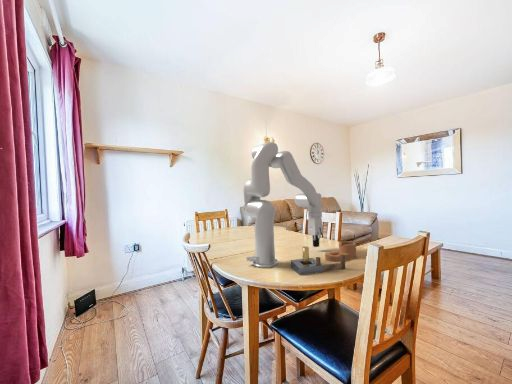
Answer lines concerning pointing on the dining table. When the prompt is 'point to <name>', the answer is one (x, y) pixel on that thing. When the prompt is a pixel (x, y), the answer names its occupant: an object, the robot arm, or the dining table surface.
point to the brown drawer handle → (332, 266)
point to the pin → (305, 255)
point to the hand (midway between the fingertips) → (316, 246)
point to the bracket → (342, 252)
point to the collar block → (306, 266)
